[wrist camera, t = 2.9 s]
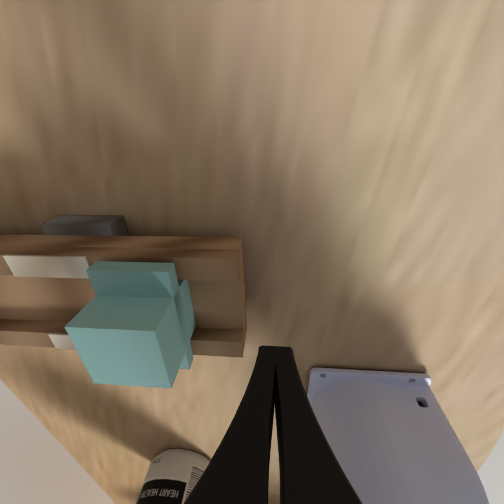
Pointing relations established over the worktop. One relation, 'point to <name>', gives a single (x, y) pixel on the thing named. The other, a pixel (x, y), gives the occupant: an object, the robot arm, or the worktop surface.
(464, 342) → the worktop surface
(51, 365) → the worktop surface
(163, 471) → the supplement can
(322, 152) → the worktop surface
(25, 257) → the brown wooden tray
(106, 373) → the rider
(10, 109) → the worktop surface
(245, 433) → the robot arm
